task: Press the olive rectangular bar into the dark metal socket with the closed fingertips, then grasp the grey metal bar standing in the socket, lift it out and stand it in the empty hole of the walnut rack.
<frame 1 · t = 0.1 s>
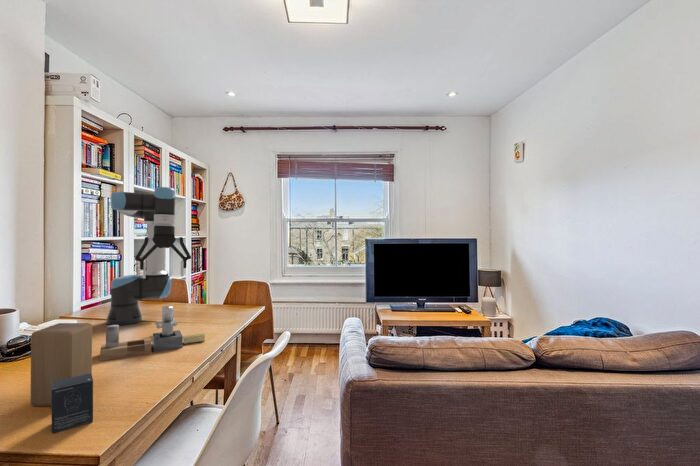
hand: (163, 277, 142), 28 cm above the table, fingers open, 13 cm apart
socket: (167, 345, 141), on the table
block: (62, 398, 97), on the table
pipe connector: (166, 335, 156), on the table
box: (72, 423, 85), on the table
rack: (123, 353, 131), on the table
grey metal bar: (167, 326, 141), in the socket
olive rectangular bar: (194, 338, 147), point 2 cm above the table, slide at 0.0 cm
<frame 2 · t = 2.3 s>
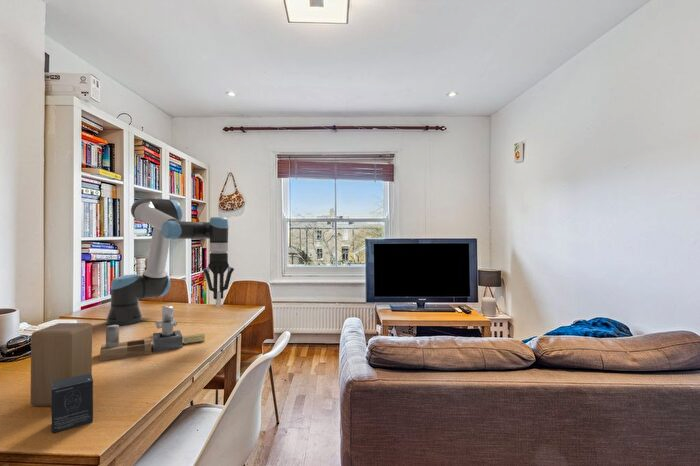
hand: (218, 306, 151), 14 cm above the table, fingers closed
nothing on the table moved.
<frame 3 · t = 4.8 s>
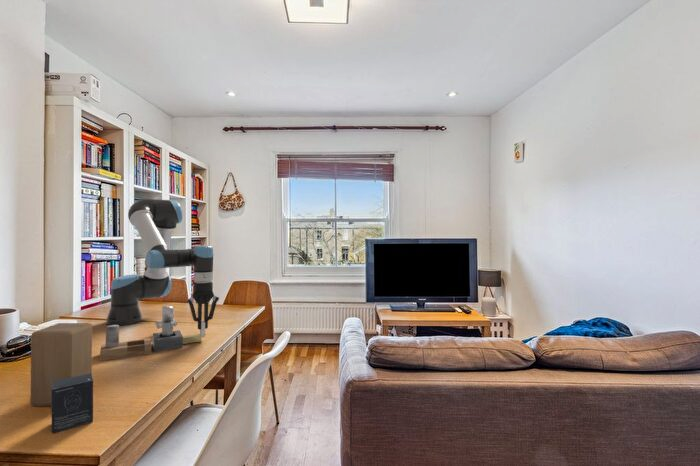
hand: (202, 336, 148), 2 cm above the table, fingers closed
olive rectangular bar: (190, 338, 146), point 2 cm above the table, slide at 1.3 cm, touching gripper
everything else where it was.
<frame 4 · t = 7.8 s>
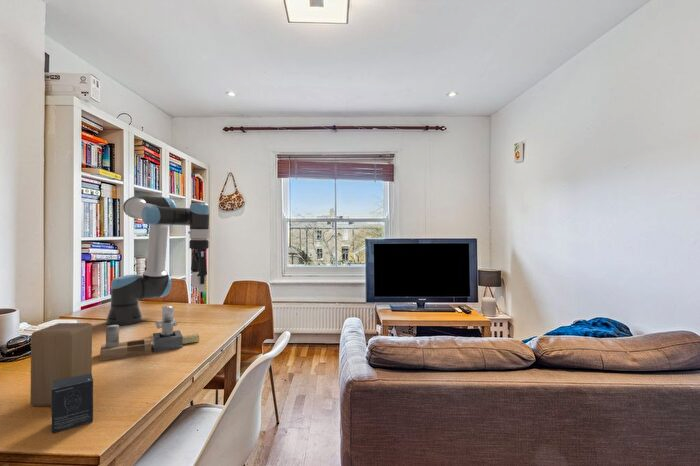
hand: (198, 289, 147), 22 cm above the table, fingers open, 13 cm apart
olive rectangular bar: (188, 339, 145), point 2 cm above the table, slide at 2.2 cm
everything else where it was.
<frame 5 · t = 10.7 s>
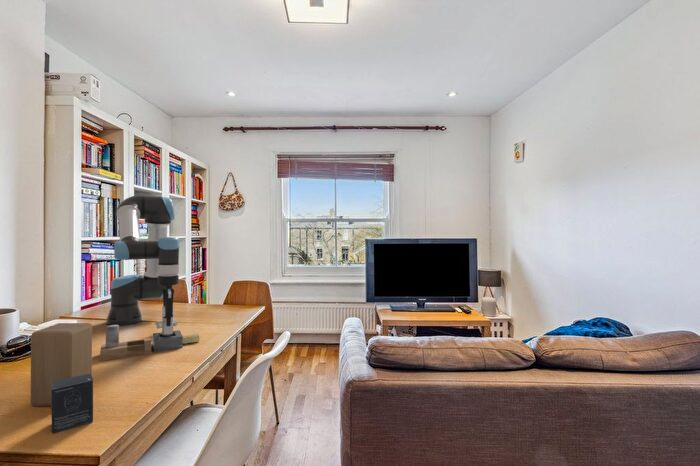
hand: (167, 332, 141), 6 cm above the table, fingers closed on grey metal bar, 4 cm apart
grey metal bar: (167, 326, 141), in the socket, touching gripper
everything else where it was.
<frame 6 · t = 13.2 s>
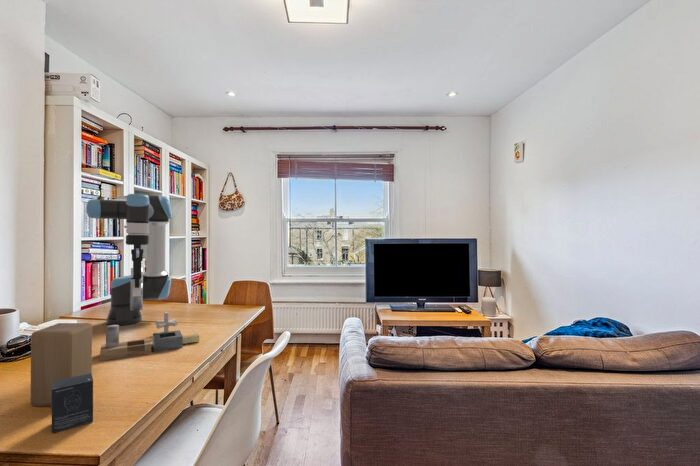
hand: (136, 294, 133), 22 cm above the table, fingers closed on grey metal bar, 4 cm apart
grey metal bar: (136, 288, 133), point 24 cm above the table, touching gripper
everything else where it was.
when the fingers open (8 cm above the table, at t = 16.0 s): grey metal bar drops 2 cm, resting in rack.
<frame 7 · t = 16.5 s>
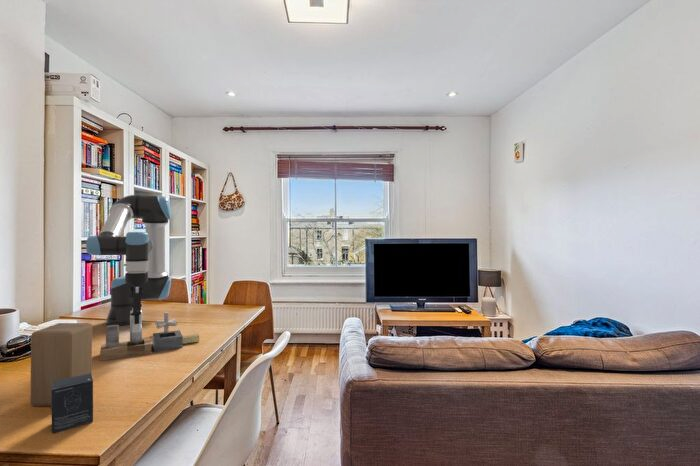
hand: (136, 328, 133), 9 cm above the table, fingers open, 12 cm apart
grey metal bar: (136, 331, 133), resting in rack
everything else where it was.
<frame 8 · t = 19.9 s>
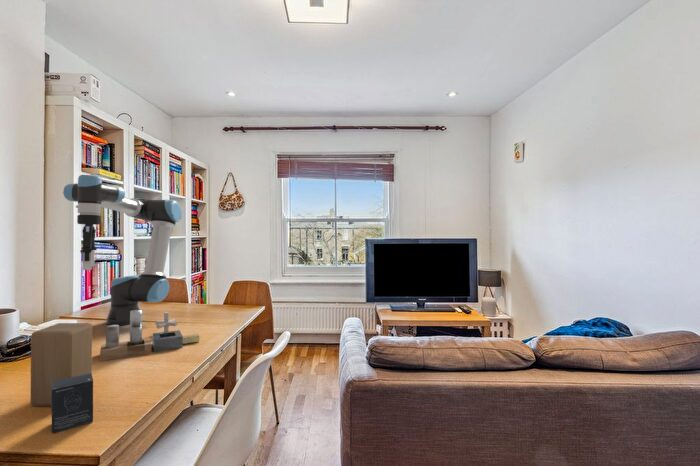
hand: (88, 268, 137), 32 cm above the table, fingers open, 13 cm apart
nothing on the table moved.
at the end: olive rectangular bar slide at 2.2 cm; grey metal bar 0.1 cm from the target spot on the rack, point 8.0 cm above the rack's base; grey metal bar tilted 0° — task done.
